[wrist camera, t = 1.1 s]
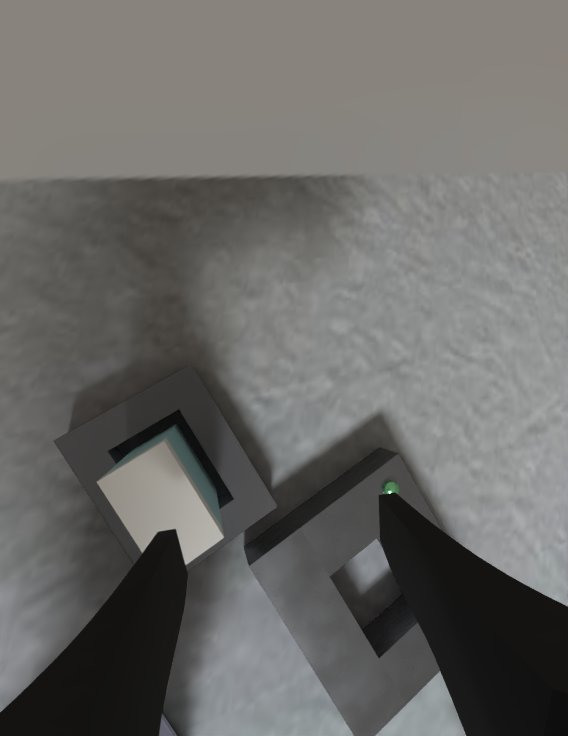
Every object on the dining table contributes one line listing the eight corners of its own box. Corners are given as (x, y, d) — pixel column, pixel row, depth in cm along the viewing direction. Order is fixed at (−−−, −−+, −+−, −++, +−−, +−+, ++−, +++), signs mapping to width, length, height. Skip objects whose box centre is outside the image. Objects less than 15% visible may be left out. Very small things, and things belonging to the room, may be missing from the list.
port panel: (345, 711, 24) (364, 753, 21) (243, 547, 23) (249, 568, 20) (465, 597, 27) (495, 621, 24) (379, 447, 26) (401, 454, 23)
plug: (175, 514, 22) (161, 582, 14) (133, 448, 21) (96, 481, 14) (215, 486, 23) (224, 537, 15) (176, 423, 22) (164, 441, 14)
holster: (158, 576, 21) (154, 595, 19) (67, 435, 21) (53, 440, 19) (271, 496, 23) (277, 506, 21) (192, 366, 23) (191, 363, 21)
